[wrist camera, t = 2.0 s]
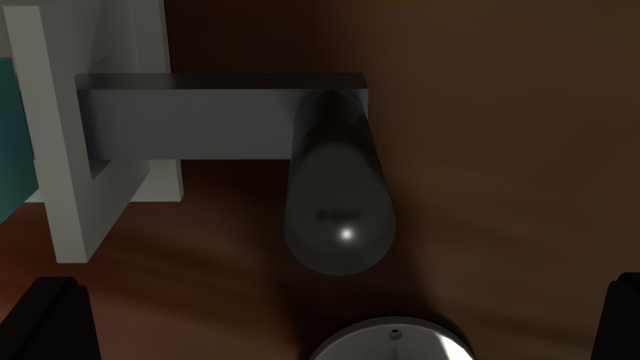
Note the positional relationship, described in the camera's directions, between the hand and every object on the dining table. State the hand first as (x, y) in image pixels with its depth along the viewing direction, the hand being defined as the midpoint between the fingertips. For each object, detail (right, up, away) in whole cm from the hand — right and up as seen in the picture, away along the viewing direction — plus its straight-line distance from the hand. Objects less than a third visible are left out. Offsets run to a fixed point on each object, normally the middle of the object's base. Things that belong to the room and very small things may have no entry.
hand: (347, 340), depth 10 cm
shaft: (-9, +6, +16) cm, 19 cm away
